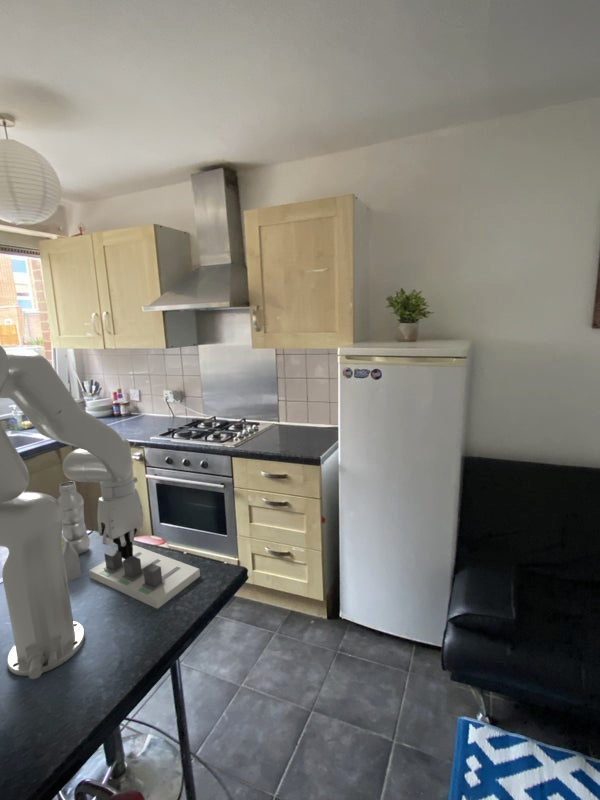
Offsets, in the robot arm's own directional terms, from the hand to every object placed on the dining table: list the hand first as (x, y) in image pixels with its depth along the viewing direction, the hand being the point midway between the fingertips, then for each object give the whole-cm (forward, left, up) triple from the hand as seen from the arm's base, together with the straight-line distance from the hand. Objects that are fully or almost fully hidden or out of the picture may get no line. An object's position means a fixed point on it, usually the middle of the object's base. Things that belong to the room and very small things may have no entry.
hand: (126, 556), depth 103 cm
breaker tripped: (-2, +3, -1) cm, 4 cm away
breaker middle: (-8, -1, -1) cm, 8 cm away
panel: (-6, -3, -3) cm, 8 cm away
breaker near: (-14, -4, -1) cm, 14 cm away
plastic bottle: (+16, +11, -3) cm, 19 cm away
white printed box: (+6, +13, -4) cm, 15 cm away
